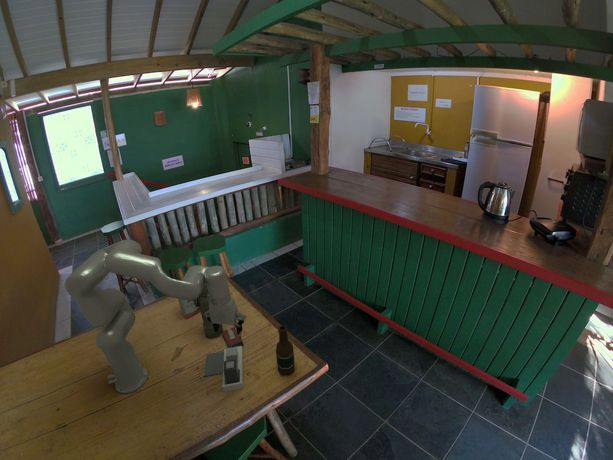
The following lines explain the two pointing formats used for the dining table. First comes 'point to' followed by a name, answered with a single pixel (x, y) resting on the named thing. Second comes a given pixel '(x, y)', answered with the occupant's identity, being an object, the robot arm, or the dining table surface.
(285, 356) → the beer bottle
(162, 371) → the dining table surface
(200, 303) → the thermos
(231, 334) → the walkie-talkie
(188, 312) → the cracker box
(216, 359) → the mat
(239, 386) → the power strip
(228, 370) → the block
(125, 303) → the robot arm
